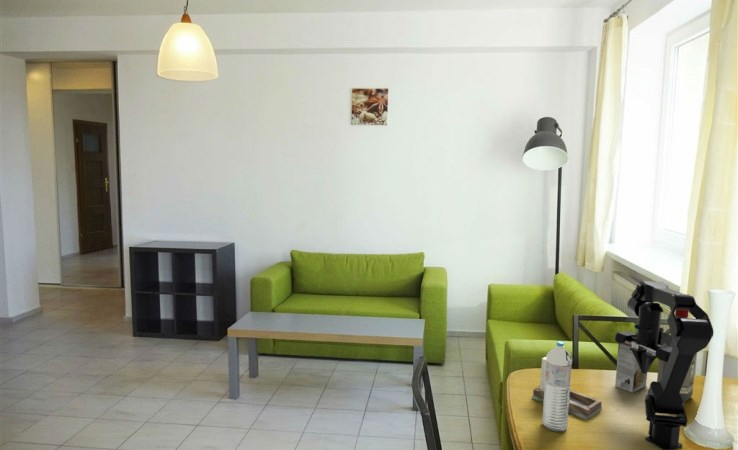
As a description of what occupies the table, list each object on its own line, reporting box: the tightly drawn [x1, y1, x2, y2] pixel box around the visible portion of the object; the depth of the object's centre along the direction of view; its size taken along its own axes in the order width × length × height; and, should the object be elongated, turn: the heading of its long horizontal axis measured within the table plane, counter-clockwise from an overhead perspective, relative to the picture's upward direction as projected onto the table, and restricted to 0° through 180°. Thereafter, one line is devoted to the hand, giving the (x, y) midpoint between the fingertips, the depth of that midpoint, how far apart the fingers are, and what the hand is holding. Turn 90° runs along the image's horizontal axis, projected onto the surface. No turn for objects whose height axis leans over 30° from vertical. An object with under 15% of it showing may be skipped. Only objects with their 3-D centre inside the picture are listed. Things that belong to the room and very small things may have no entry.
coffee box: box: [614, 341, 648, 393], centre depth 174 cm, size 9×6×16 cm
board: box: [531, 385, 603, 420], centre depth 161 cm, size 18×10×3 cm, turn 42°
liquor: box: [656, 309, 698, 403], centre depth 167 cm, size 9×9×30 cm
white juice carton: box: [539, 356, 547, 392], centre depth 164 cm, size 6×6×13 cm
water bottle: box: [541, 340, 573, 433], centre depth 145 cm, size 7×7×25 cm
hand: (644, 373), depth 154 cm, fingers closed
